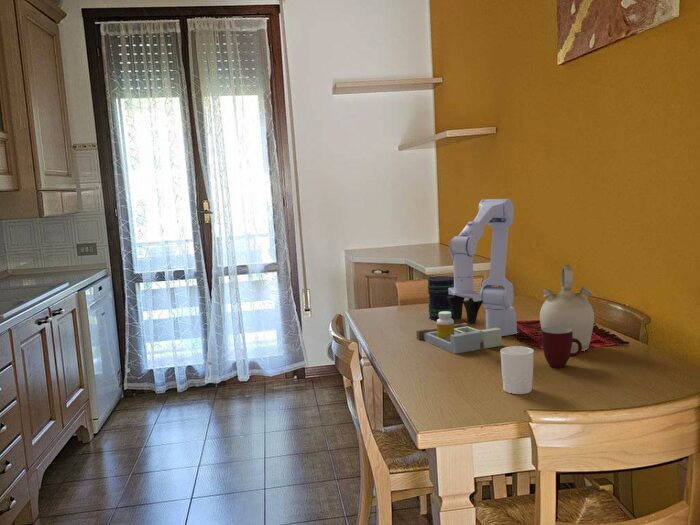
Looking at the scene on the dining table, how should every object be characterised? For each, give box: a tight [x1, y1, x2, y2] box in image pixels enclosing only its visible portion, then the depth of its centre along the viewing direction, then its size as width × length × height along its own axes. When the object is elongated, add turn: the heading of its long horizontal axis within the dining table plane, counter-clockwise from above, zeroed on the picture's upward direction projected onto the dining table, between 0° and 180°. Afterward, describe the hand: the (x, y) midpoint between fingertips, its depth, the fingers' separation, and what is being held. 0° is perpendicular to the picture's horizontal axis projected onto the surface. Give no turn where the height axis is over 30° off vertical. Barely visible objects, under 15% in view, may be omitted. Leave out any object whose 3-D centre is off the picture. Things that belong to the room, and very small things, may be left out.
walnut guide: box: [416, 322, 484, 350], centre depth 208 cm, size 19×22×3 cm
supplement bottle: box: [436, 311, 455, 342], centre depth 208 cm, size 5×5×10 cm
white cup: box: [499, 345, 535, 395], centre depth 161 cm, size 8×8×10 cm
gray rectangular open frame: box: [423, 331, 481, 355], centre depth 205 cm, size 9×19×5 cm, turn 23°
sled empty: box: [454, 326, 502, 350], centre depth 209 cm, size 6×19×5 cm, turn 23°
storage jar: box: [427, 275, 455, 322], centre depth 241 cm, size 10×10×15 cm
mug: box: [540, 327, 582, 369], centre depth 178 cm, size 11×8×10 cm
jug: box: [539, 264, 595, 354], centre depth 194 cm, size 15×16×25 cm
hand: (464, 321), depth 197 cm, fingers open, 7 cm apart
